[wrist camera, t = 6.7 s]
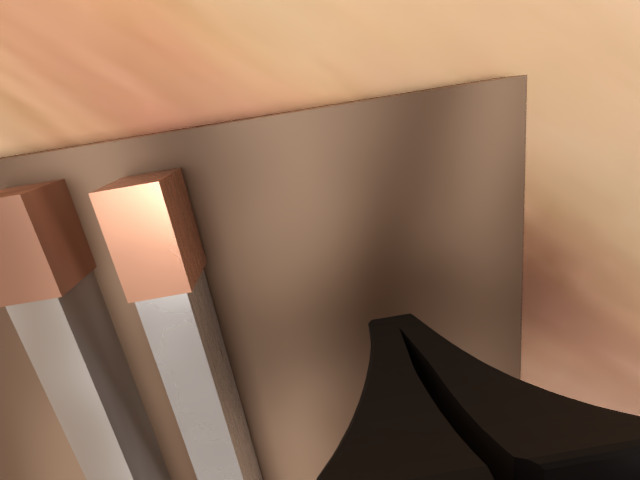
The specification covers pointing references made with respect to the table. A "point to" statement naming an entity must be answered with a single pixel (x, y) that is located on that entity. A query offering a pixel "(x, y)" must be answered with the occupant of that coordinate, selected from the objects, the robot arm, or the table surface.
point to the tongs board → (261, 274)
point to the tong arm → (178, 316)
